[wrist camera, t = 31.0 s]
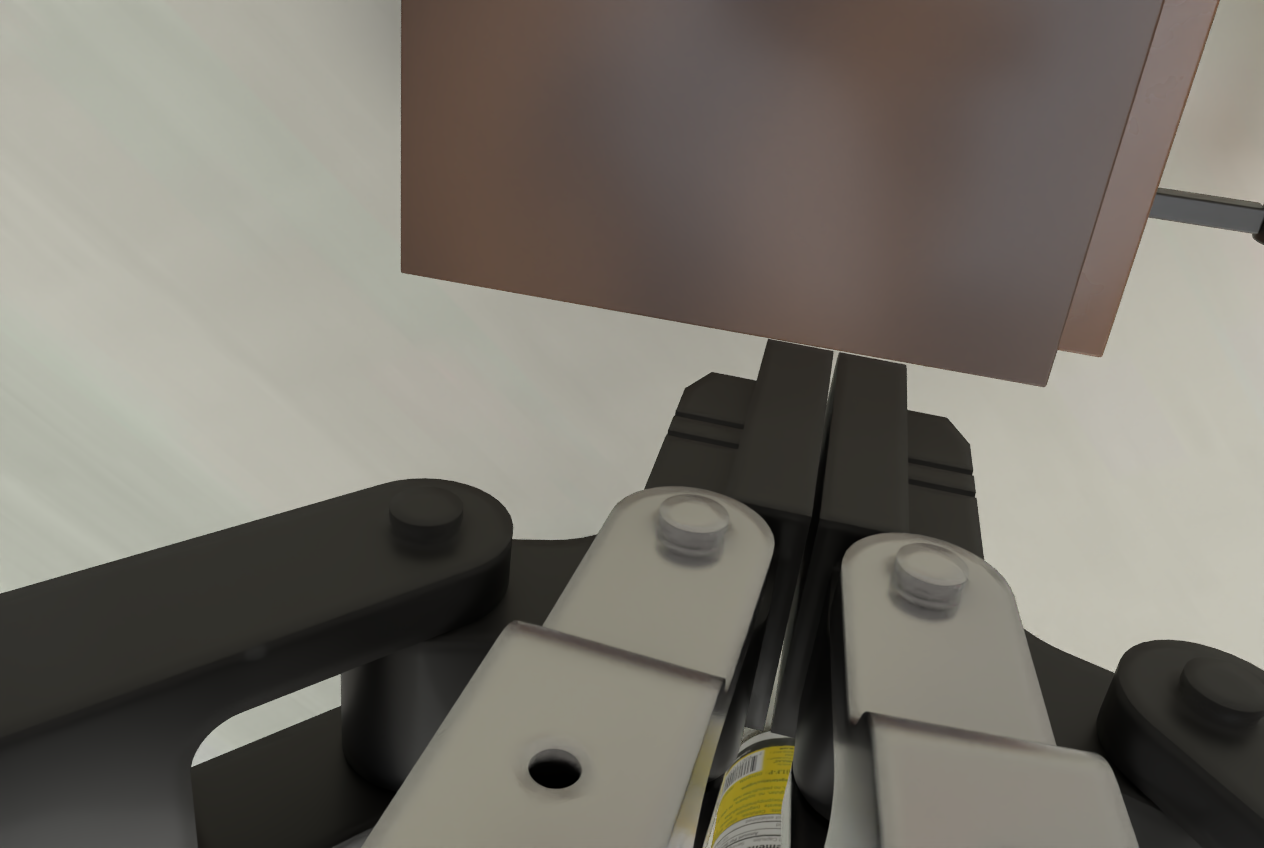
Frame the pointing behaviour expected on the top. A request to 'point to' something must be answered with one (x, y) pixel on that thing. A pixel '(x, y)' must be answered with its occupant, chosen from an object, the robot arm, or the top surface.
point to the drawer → (1149, 178)
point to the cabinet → (775, 162)
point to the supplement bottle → (755, 794)
